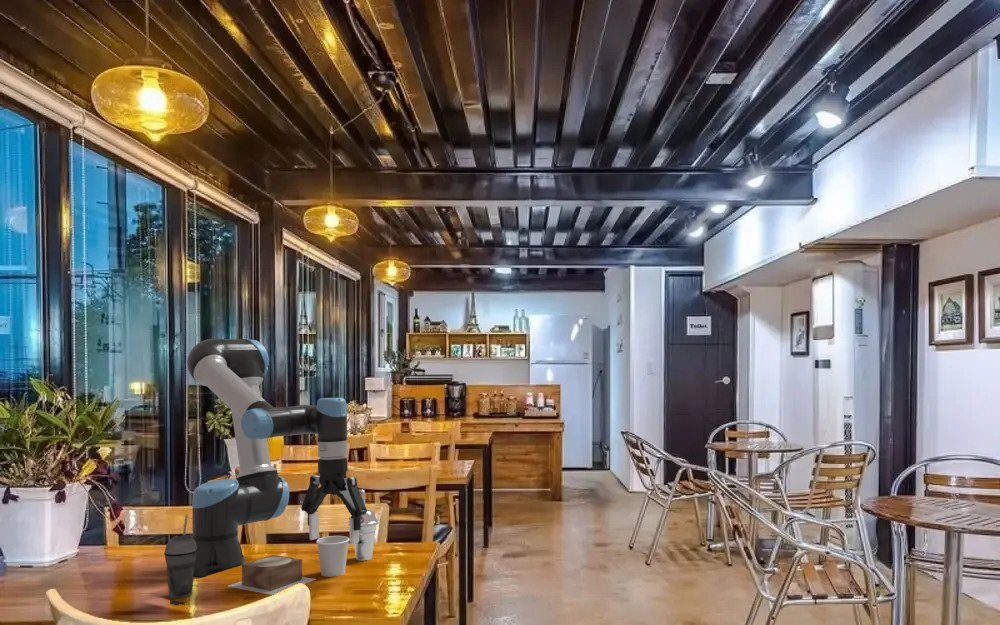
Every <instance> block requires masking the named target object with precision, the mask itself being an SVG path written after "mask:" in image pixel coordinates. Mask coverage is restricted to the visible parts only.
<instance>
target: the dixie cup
mask: <svg viewBox="0 0 1000 625" xmlns="http://www.w3.org/2000/svg"><path fill="white" fill-rule="evenodd" d="M315 543H316V544H317V551H318V552H317V553H318V560H319V567H320V568H319V569H320V574H321V576H322V577H329V578H330V577H331V578H332V577H339V576H342V575H344V574H345V573H346V567H347V559H348V558H347V556H348V550H349V543H350V537H348V536H344V535H329V536H324V537H319V538H317V539H316V542H315Z"/></svg>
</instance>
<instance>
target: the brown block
mask: <svg viewBox="0 0 1000 625" xmlns="http://www.w3.org/2000/svg"><path fill="white" fill-rule="evenodd" d="M241 573H242V574H241V579H242V580H241V581H242V586H248V587H253V588H258V589H264V590H269V591H273V590H275V589H278V588H281V587H284V586H286V585H289V584H292V583H295V582H297V581H300V580H302V577H303V559H302V558H296V557H290V556H282V555H275V554H272V555H269V556H265V557H262V558H259V559H256V560H252V561H249V562H245V563H244V564H242V565H241Z"/></svg>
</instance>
